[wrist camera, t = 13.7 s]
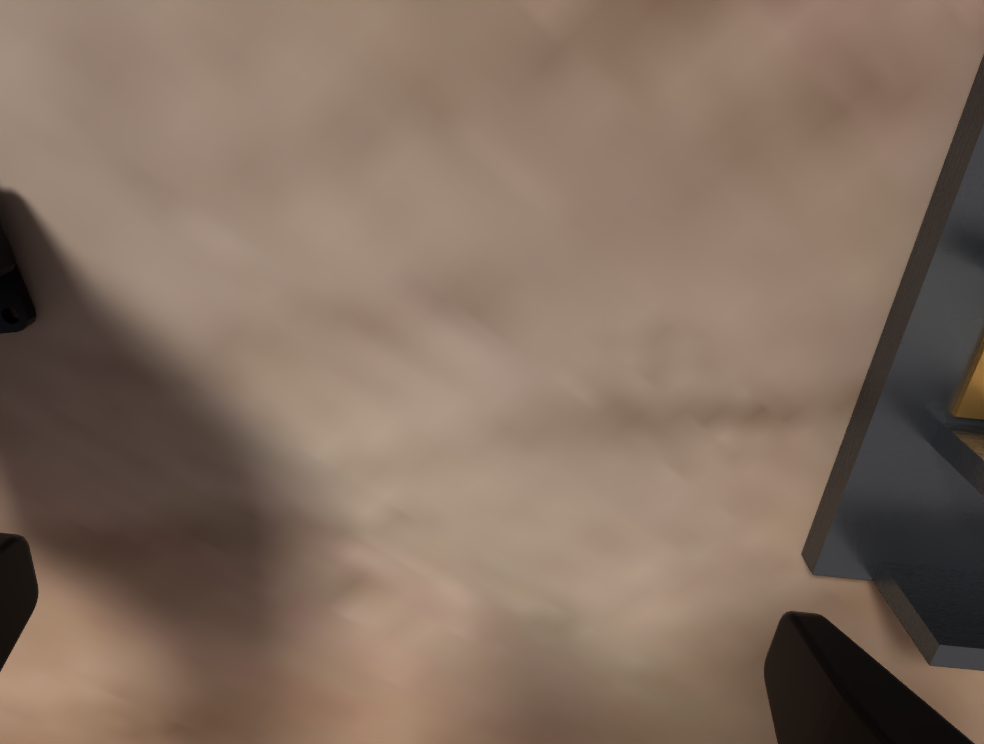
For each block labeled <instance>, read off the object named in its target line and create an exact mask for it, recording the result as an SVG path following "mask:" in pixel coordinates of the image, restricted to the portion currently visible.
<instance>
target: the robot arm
mask: <svg viewBox="0 0 984 744" xmlns="http://www.w3.org/2000/svg"><path fill="white" fill-rule="evenodd" d="M10 308H12V309H14V310H15V311H16V312H17V313H18V315H19V319H18V318H16V317H14V316H13V315H12V313H11V311H10ZM35 319H36V311H35V308H34V305H33V303H32V300H31V298H30V296H29V293H28V291H27V288H26V286H25V283H24V281H23V278H22V276H21V273H20V271H19V268H18V266H17V263H16V259H15V257H14V254H13V252H12V249H11V247H10V244H9V242H8V239H7V237H6V234H5V232H4V229H3V227H2V225H1V222H0V333H10V332H18V331H21V330H24V329H25V328H27V327H29V326H30V325H32V324H33V323H34V322H35ZM37 599H38V584H37V579H36V575H35V570H34V565H33V561H32V556H31V552H30V547H29V544H28V542H27V540H26V539H25V538H24V537H23V536H20V535H17V534H8V533H0V671H1V670H2V668H3V666H4V664H5V662H6V660H7V659H8V657H9V655H10V653H11V651H12V649H13V648H14V646H15V644H16V642H17V640H18V638H19V637H20V635H21V633H22V631H23V629H24V627H25V626H26V624H27V622H28V620H29V618H30V616H31V615H32V613H33V611H34V609H35V606H36V603H37ZM764 679H765V685H766V690H767V694H768V699H769V704H770V709H771V714H772V718H773V723H774V728H775V733H776V738H777V742H778V744H974V743H973V742H972V741H971V740H970V739H968V738H967V737H966V736H965V735H964V734H962V733H961V732H960V731H959V730H958V729H957V728H955V727H954V726H953V725H952V724H951V723H949V722H948V721H947V720H946V719H945V718H943V717H942V716H941V715H940V714H939V713H938V712H936V711H935V710H934V709H933V708H932V707H930V706H929V705H928V704H927V703H926V702H925V701H923V700H922V699H921V698H920V697H919V696H917V695H916V694H915V693H914V692H913V691H911V690H910V689H909V688H908V687H907V686H906V685H904V684H903V683H902V682H901V681H900V680H898V679H897V678H896V677H895V676H894V675H892V674H891V673H890V672H889V671H888V670H887V669H885V668H884V667H883V666H882V665H881V664H879V663H878V662H877V661H876V660H875V659H874V658H872V657H871V656H870V655H869V654H868V653H866V652H865V651H864V650H863V649H862V648H860V647H859V646H858V645H857V644H856V643H855V642H853V641H852V640H851V639H850V638H849V637H847V636H846V635H845V634H844V633H843V632H841V631H840V630H839V629H838V628H837V627H836V626H834V625H833V624H832V623H831V622H830V621H828V620H827V619H826V618H825V617H823V616H821V615H819V614H815V613H805V612H795V611H790V612H786V613H785V614H784V615H783V616H782V617H781V619H780V621H779V623H778V626H777V629H776V632H775V634H774V637H773V640H772V642H771V645H770V648H769V651H768V653H767V656H766V659H765V664H764Z"/></svg>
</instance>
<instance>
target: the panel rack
mask: <svg viewBox="0 0 984 744" xmlns="http://www.w3.org/2000/svg"><path fill="white" fill-rule="evenodd" d="M802 556H803V558H804V560H805V562H806V563H807V565H808V567H809V569H810V571H811V572H812V574H814V575H824V576H834V577H844V578H855V579H865V580H873V582H874V583H875V585H876V586H877V588H878V589H879V591H880V592H881V594H882V595H883V597H884V598H885V600H886V601H887V603H888V604H889V606H890V607H891V609H892V610H893V612H894V613H895V615H896V616H897V618H898V619H899V621H900V622H901V624H902V625H903V627H904V628H905V630H906V631H907V633H908V634H909V636H910V637H911V639H912V640H913V642H914V643H915V645H916V646H917V648H918V649H919V651H920V652H921V654H922V655H923V657H924V658H925V660H926V661H927V663H928V664H929V666H940V667H950V668H960V669H971V670H981V671H984V56H983V58H982V61H981V64H980V67H979V69H978V72H977V75H976V78H975V80H974V83H973V86H972V89H971V91H970V94H969V97H968V99H967V102H966V105H965V108H964V110H963V113H962V116H961V119H960V121H959V124H958V127H957V130H956V132H955V135H954V138H953V141H952V143H951V146H950V149H949V151H948V154H947V157H946V160H945V162H944V165H943V168H942V171H941V173H940V176H939V179H938V182H937V184H936V187H935V190H934V193H933V195H932V198H931V201H930V204H929V206H928V209H927V212H926V214H925V217H924V220H923V223H922V225H921V228H920V231H919V234H918V236H917V239H916V242H915V245H914V247H913V250H912V253H911V256H910V258H909V261H908V264H907V266H906V269H905V272H904V275H903V277H902V280H901V283H900V286H899V288H898V291H897V294H896V297H895V299H894V302H893V305H892V308H891V310H890V313H889V316H888V319H887V321H886V324H885V327H884V329H883V332H882V335H881V338H880V340H879V343H878V346H877V349H876V351H875V354H874V357H873V360H872V362H871V365H870V368H869V371H868V373H867V376H866V379H865V381H864V384H863V387H862V390H861V392H860V395H859V398H858V401H857V403H856V406H855V409H854V412H853V414H852V417H851V420H850V423H849V425H848V428H847V431H846V434H845V436H844V439H843V442H842V444H841V447H840V450H839V453H838V455H837V458H836V461H835V464H834V466H833V469H832V472H831V475H830V477H829V480H828V483H827V486H826V488H825V491H824V494H823V496H822V499H821V502H820V505H819V507H818V510H817V513H816V516H815V518H814V521H813V524H812V527H811V529H810V532H809V535H808V538H807V540H806V543H805V546H804V548H803V551H802Z"/></svg>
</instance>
